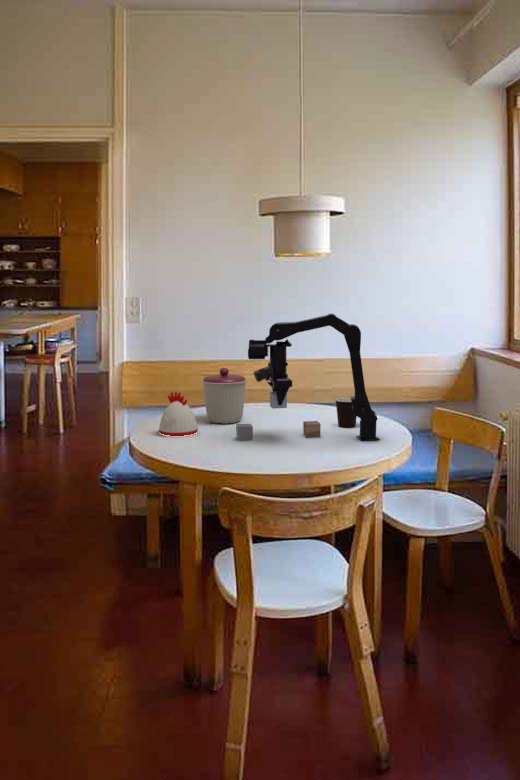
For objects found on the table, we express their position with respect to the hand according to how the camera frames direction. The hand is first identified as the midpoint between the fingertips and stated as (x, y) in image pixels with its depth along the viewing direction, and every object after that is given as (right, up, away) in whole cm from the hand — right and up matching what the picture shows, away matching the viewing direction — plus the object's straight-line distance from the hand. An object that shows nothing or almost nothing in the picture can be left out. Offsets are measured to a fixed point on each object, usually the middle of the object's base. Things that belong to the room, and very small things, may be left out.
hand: (278, 404), depth 257 cm
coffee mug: (+27, -9, +21) cm, 36 cm away
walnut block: (+12, -12, +4) cm, 17 cm away
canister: (-20, -8, +31) cm, 37 cm away
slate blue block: (0, -1, 0) cm, 1 cm away
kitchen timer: (-36, -11, +11) cm, 39 cm away
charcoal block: (-12, -12, 0) cm, 17 cm away
